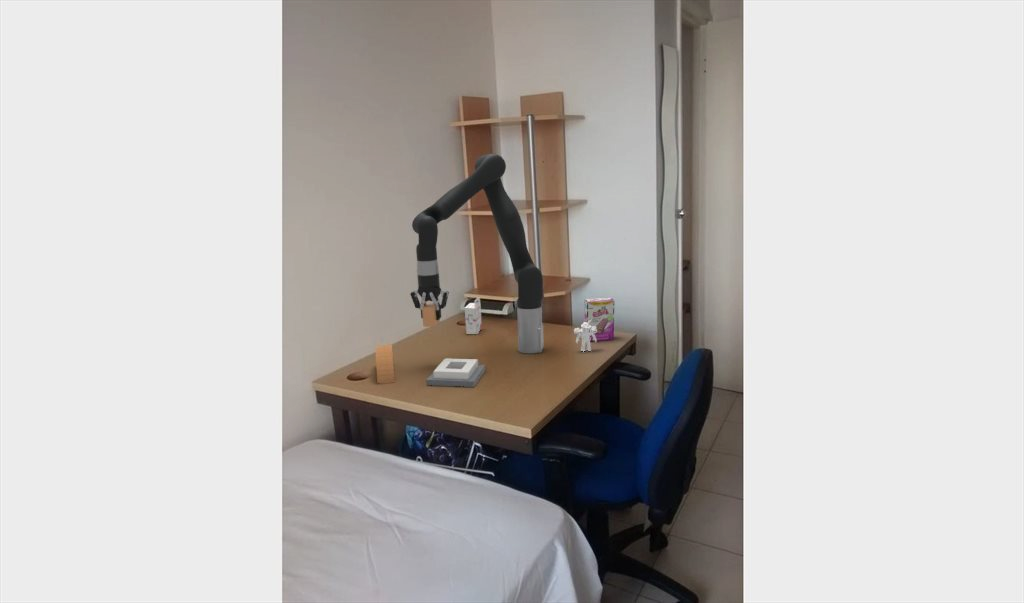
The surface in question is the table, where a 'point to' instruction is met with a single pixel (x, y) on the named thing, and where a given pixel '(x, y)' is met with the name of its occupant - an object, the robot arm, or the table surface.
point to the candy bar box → (600, 317)
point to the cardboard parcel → (429, 316)
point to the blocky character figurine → (585, 335)
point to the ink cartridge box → (473, 317)
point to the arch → (384, 364)
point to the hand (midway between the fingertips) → (431, 319)
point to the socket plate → (457, 382)
